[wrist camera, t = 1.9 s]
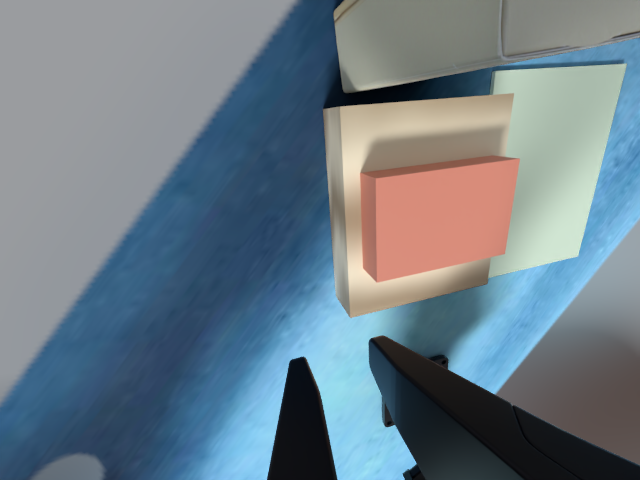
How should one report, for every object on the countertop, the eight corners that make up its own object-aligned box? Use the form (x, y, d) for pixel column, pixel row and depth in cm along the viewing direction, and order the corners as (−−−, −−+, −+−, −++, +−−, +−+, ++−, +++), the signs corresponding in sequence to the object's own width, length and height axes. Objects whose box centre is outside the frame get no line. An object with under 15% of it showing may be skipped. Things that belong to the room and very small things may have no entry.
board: (459, 267, 26) (487, 283, 23) (335, 295, 23) (350, 317, 21) (477, 97, 21) (514, 93, 18) (323, 109, 19) (339, 106, 16)
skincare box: (428, -2, 18) (739, -194, 7) (430, 82, 20) (684, 30, 9) (327, 11, 17) (517, -195, 6) (339, 99, 19) (503, 64, 8)
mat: (574, 255, 29) (577, 256, 29) (468, 280, 27) (470, 282, 26) (622, 64, 24) (627, 63, 23) (492, 71, 21) (495, 71, 21)
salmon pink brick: (492, 155, 19) (519, 158, 18) (481, 243, 22) (504, 254, 20) (359, 172, 17) (375, 178, 16) (362, 268, 20) (376, 282, 18)
